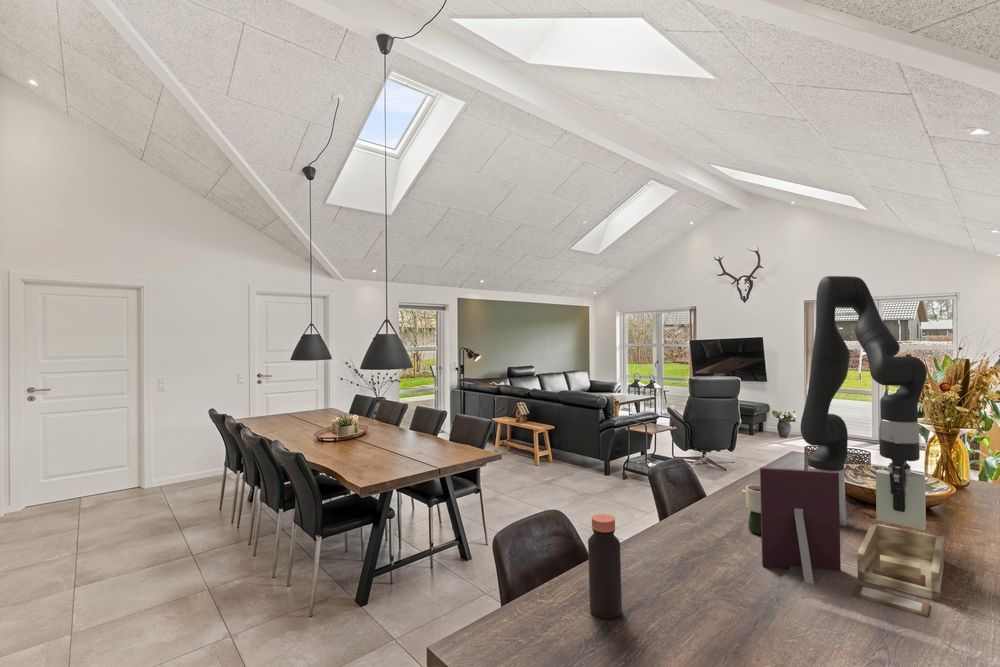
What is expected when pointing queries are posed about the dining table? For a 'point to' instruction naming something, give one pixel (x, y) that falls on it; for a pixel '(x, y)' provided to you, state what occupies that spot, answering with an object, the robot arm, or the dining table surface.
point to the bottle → (604, 568)
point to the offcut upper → (900, 567)
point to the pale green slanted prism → (913, 501)
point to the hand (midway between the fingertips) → (899, 508)
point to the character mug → (753, 506)
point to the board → (892, 600)
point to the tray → (906, 548)
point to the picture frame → (800, 520)
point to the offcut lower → (899, 576)
